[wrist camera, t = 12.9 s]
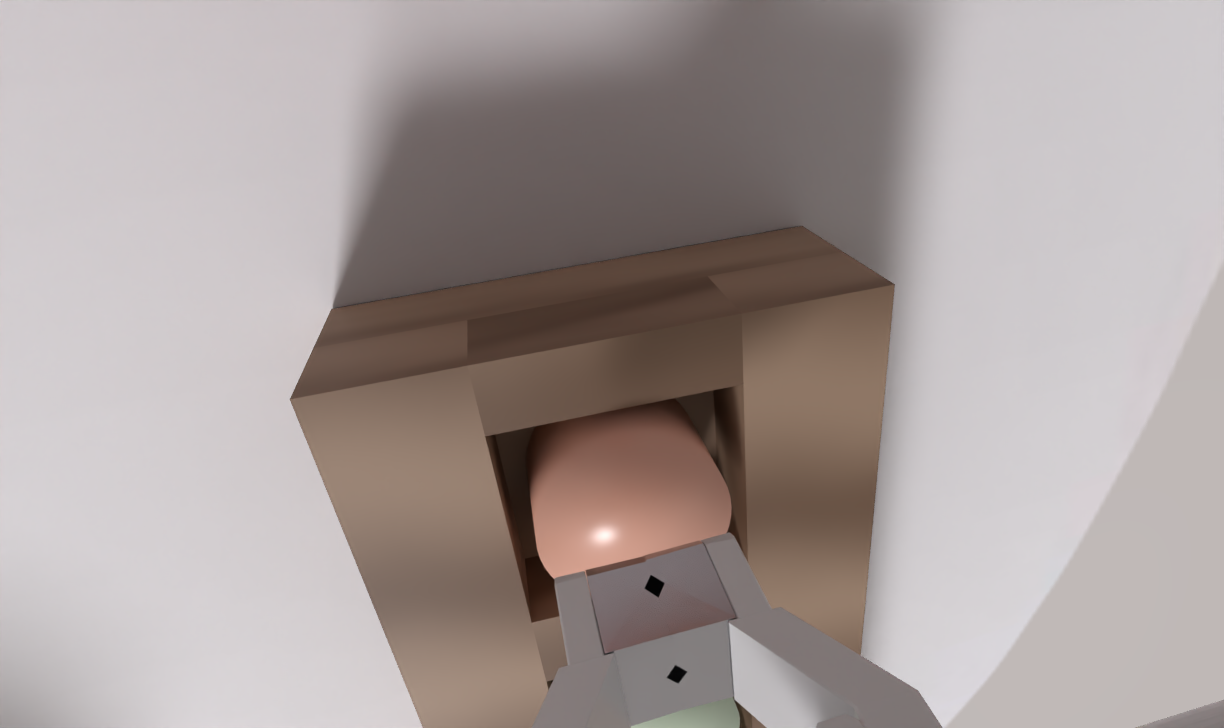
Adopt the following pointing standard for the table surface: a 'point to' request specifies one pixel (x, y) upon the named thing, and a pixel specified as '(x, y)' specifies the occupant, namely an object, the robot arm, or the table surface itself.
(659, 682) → the robot arm
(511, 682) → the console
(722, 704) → the button sage
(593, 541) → the button terracotta
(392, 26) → the table surface
